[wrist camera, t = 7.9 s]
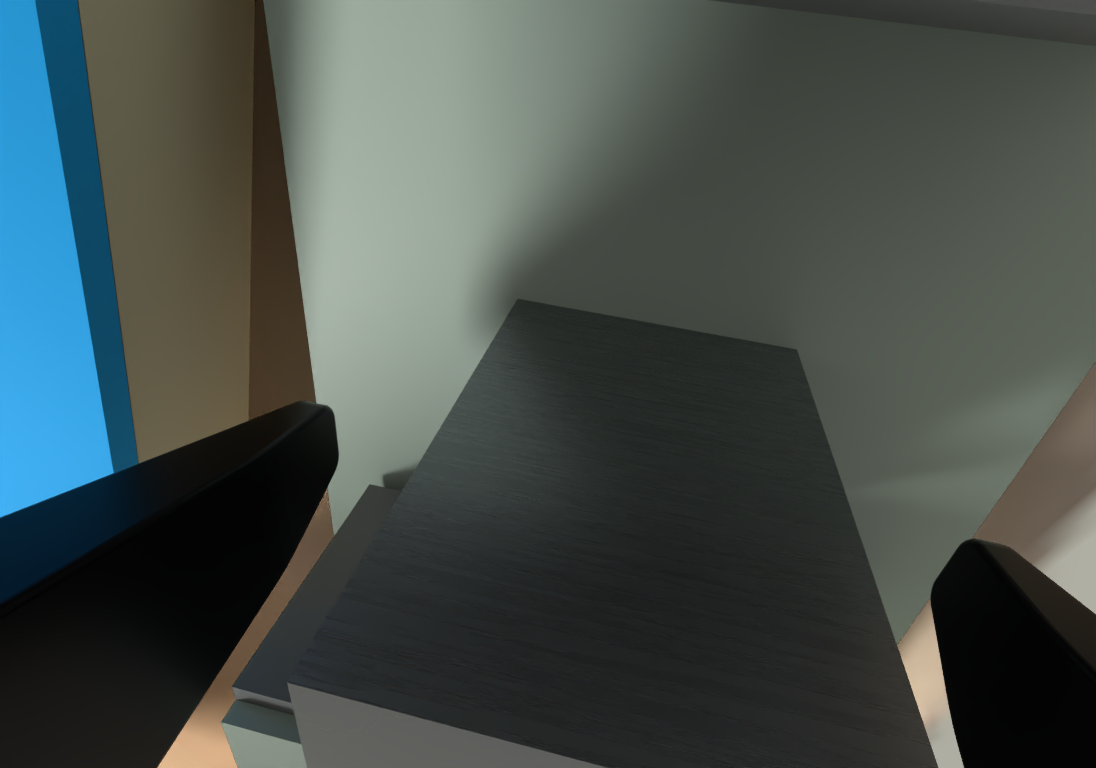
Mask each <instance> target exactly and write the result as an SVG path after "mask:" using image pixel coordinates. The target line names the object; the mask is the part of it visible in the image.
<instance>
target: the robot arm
mask: <svg viewBox="0 0 1096 768" xmlns="http://www.w3.org/2000/svg"><path fill="white" fill-rule="evenodd" d="M338 461H339V448H338V439H337V431H336V422H335V415H334V412H333V410H332V409H331V408H330V407H329V406H327V405H323V404H318V403H314V402H309V401H298V402H295V403H293V404H290V405H287V406H285V407H282V408H280V409H277V410H275V411H272V412H270V413H267V414H264V415H262V416H259V417H257V418H254V419H252V420H249V421H246V422H244V423H241V424H239V425H236V426H234V427H231V428H228V429H226V430H223V431H221V432H218V433H216V434H213V435H211V436H208V437H205V438H203V439H200V440H198V441H195V442H193V443H190V444H187V445H185V446H182V447H180V448H177V449H175V450H172V451H169V452H167V453H164V454H162V455H159V456H157V457H154V458H151V459H149V460H146V461H144V462H141V463H139V464H136V465H133V466H131V467H128V468H126V469H123V470H121V471H118V472H115V473H113V474H110V475H108V476H105V477H103V478H100V479H97V480H95V481H92V482H90V483H87V484H85V485H82V486H80V487H77V488H74V489H72V490H69V491H67V492H64V493H62V494H59V495H56V496H54V497H51V498H49V499H46V500H44V501H41V502H38V503H36V504H33V505H31V506H28V507H26V508H23V509H20V510H18V511H15V512H13V513H10V514H8V515H5V516H2V517H0V768H157V767H158V766H159V764H160V763H161V761H162V760H163V758H164V756H165V755H166V753H167V752H168V750H169V749H170V747H171V746H172V744H173V743H174V741H175V740H176V738H177V736H178V735H179V733H180V732H181V730H182V729H183V727H184V726H185V724H186V723H187V721H188V719H189V718H190V716H191V715H192V713H193V712H194V710H195V709H196V707H197V706H198V704H199V703H200V701H201V699H202V698H203V696H204V695H205V693H206V692H207V690H208V689H209V687H210V686H211V684H212V682H213V681H214V679H215V678H216V676H217V675H218V673H219V672H220V670H221V669H222V667H223V666H224V664H225V662H226V661H227V659H228V658H229V656H230V655H231V653H232V652H233V650H234V649H235V647H236V645H237V644H238V642H239V641H240V639H241V638H242V636H243V635H244V633H245V632H246V630H247V628H248V627H249V625H250V624H251V622H252V621H253V619H254V618H255V616H256V615H257V613H258V612H259V610H260V608H261V607H262V605H263V604H264V602H265V601H266V599H267V598H268V596H269V595H270V593H271V591H272V590H273V588H274V587H275V585H276V584H277V582H278V580H279V579H280V577H281V576H282V574H283V572H284V571H285V569H286V567H287V566H288V564H289V562H290V560H291V558H292V556H293V554H294V553H295V551H296V549H297V547H298V545H299V543H300V541H301V539H302V537H303V535H304V533H305V531H306V529H307V527H308V525H309V523H310V521H311V519H312V517H313V515H314V513H315V511H316V509H317V507H318V505H319V503H320V501H321V499H322V497H323V495H324V493H325V491H326V489H327V487H328V485H329V483H330V481H331V479H332V477H333V475H334V473H335V471H336V469H337V466H338ZM931 607H932V613H933V619H934V624H935V630H936V636H937V641H938V647H939V653H940V659H941V664H942V670H943V676H944V681H945V687H946V693H947V699H948V704H949V709H950V714H951V719H952V724H953V728H954V732H955V735H956V740H957V743H958V747H959V751H960V754H961V758H962V762H963V765H964V768H1096V614H1095V613H1093V612H1092V611H1091V610H1089V609H1088V608H1087V607H1085V606H1084V605H1083V604H1082V603H1081V602H1079V601H1078V600H1077V599H1075V598H1074V597H1073V596H1071V595H1070V594H1069V593H1068V592H1066V591H1065V590H1064V589H1063V588H1061V587H1060V586H1059V585H1057V584H1056V583H1055V582H1054V581H1052V580H1051V579H1050V578H1048V577H1047V576H1046V575H1045V574H1043V573H1042V572H1041V571H1040V570H1038V569H1037V568H1036V567H1035V566H1033V565H1032V564H1031V563H1029V562H1028V561H1027V560H1026V559H1024V558H1023V557H1022V556H1020V555H1019V554H1018V553H1017V552H1015V551H1014V550H1013V549H1011V548H1010V547H1007V546H1005V545H1002V544H998V543H993V542H988V541H983V540H978V539H968V540H965V541H964V542H962V543H961V544H960V545H959V546H958V548H957V549H956V551H955V552H954V553H953V555H952V556H951V558H950V559H949V561H948V562H947V564H946V565H945V567H944V568H943V569H942V571H941V572H940V574H939V575H938V577H937V578H936V580H935V581H934V583H933V586H932V589H931Z"/></svg>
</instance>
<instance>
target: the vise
mask: <svg viewBox="0 0 1096 768" xmlns="http://www.w3.org/2000/svg"><path fill="white" fill-rule="evenodd" d="M263 3H264V10H265V18H266V25H267V33H268V40H269V48H270V56H271V63H272V71H273V78H274V86H275V93H276V101H277V109H278V116H279V124H280V131H281V139H282V146H283V154H284V162H285V169H286V177H287V184H288V192H289V199H290V207H291V215H292V222H293V230H294V237H295V245H296V252H297V260H298V268H299V275H300V283H301V290H302V298H303V305H304V313H305V321H306V328H307V336H308V343H309V351H310V358H311V366H312V374H313V381H314V389H315V396H316V403H318V404H323V405H327V406H329V407H330V408H331V409H332V410H333V412H334V415H335V422H336V431H337V439H338V448H339V461H338V466H337V469H336V471H335V473H334V475H333V477H332V479H331V481H330V483H329V485H328V495H329V502H330V510H331V517H332V525H333V533H334V537H333V539H332V540H331V542H330V543H329V545H328V546H327V548H326V549H325V550H324V552H323V553H322V555H321V556H320V558H319V559H318V561H317V562H316V564H315V565H314V567H313V568H312V570H311V571H310V573H309V574H308V575H307V577H306V578H305V580H304V581H303V583H302V584H301V586H300V587H299V589H298V590H297V592H296V593H295V595H294V596H293V598H292V599H291V600H290V602H289V603H288V605H287V606H286V608H285V609H284V611H283V612H282V614H281V615H280V617H279V618H278V620H277V621H276V623H275V624H274V626H273V627H272V628H271V630H270V631H269V633H268V634H267V636H266V637H265V639H264V640H263V642H262V643H261V645H260V646H259V648H258V649H257V651H256V652H255V653H254V655H253V656H252V658H251V659H250V661H249V662H248V664H247V665H246V667H245V668H244V670H243V671H242V673H241V674H240V676H239V677H238V678H237V680H236V681H235V683H234V684H233V686H232V689H233V692H234V695H235V698H236V700H235V702H234V703H233V705H232V706H231V708H230V709H229V711H228V713H227V714H226V716H225V717H224V719H223V720H222V722H221V723H222V726H223V729H224V732H225V734H226V737H227V740H228V742H229V745H230V748H231V751H232V753H233V756H234V759H235V761H236V764H237V767H238V768H307V766H306V761H305V757H304V753H303V749H302V744H301V740H300V736H299V732H298V727H297V723H296V719H295V715H294V710H293V706H292V702H291V698H290V693H289V689H288V685H287V682H288V680H289V678H290V677H291V675H292V673H293V672H294V670H295V668H296V667H297V665H298V663H299V662H300V660H301V658H302V657H303V655H304V653H305V652H306V650H307V648H308V647H309V645H310V643H311V642H312V640H313V638H314V637H315V635H316V633H317V632H318V630H319V628H320V627H321V625H322V623H323V622H324V620H325V618H326V617H327V615H328V613H329V612H330V610H331V608H332V607H333V605H334V604H335V602H336V600H337V599H338V597H339V595H340V594H341V592H342V590H343V589H344V587H345V585H346V584H347V582H348V580H349V579H350V577H351V575H352V574H353V572H354V570H355V569H356V567H357V565H358V564H359V562H360V560H361V559H362V557H363V555H364V554H365V552H366V550H367V549H368V547H369V545H370V544H371V542H372V540H373V539H374V537H375V535H376V534H377V532H378V530H379V529H380V527H381V525H382V524H383V522H384V520H385V519H386V517H387V515H388V514H389V512H390V510H391V509H392V507H393V505H394V504H395V502H396V500H397V499H398V497H399V495H400V494H401V492H402V490H403V489H404V487H405V485H406V484H407V482H408V480H409V479H410V477H411V475H412V474H413V472H414V470H415V469H416V467H417V465H418V464H419V462H420V460H421V459H422V457H423V455H424V454H425V452H426V450H427V449H428V447H429V445H430V444H431V442H432V440H433V439H434V437H435V435H436V434H437V432H438V430H439V429H440V427H441V425H442V424H443V422H444V420H445V419H446V417H447V415H448V414H449V412H450V410H451V409H452V407H453V405H454V404H455V402H456V400H457V399H458V397H459V395H460V394H461V392H462V390H463V389H464V387H465V385H466V384H467V382H468V380H469V379H470V377H471V375H472V374H473V372H474V370H475V369H476V367H477V365H478V364H479V362H480V360H481V359H482V357H483V355H484V354H485V352H486V350H487V349H488V347H489V345H490V344H491V342H492V340H493V339H494V337H495V335H496V334H497V332H498V330H499V329H500V327H501V325H502V324H503V322H504V320H505V319H506V317H507V315H508V314H509V312H510V310H511V309H512V307H513V305H514V304H515V302H516V300H517V299H522V300H528V301H533V302H539V303H544V304H550V305H555V306H561V307H566V308H572V309H577V310H583V311H588V312H594V313H599V314H605V315H610V316H616V317H621V318H627V319H632V320H638V321H643V322H649V323H654V324H660V325H665V326H671V327H676V328H682V329H687V330H693V331H698V332H704V333H709V334H715V335H720V336H726V337H731V338H737V339H742V340H748V341H753V342H759V343H764V344H770V345H775V346H781V347H786V348H792V349H797V351H798V354H799V357H800V360H801V363H802V366H803V369H804V372H805V375H806V378H807V381H808V384H809V387H810V390H811V393H812V395H813V398H814V401H815V404H816V407H817V410H818V413H819V416H820V419H821V422H822V425H823V428H824V431H825V434H826V437H827V440H828V443H829V446H830V449H831V452H832V455H833V458H834V461H835V464H836V466H837V469H838V472H839V475H840V478H841V481H842V484H843V487H844V490H845V493H846V496H847V499H848V502H849V505H850V508H851V511H852V514H853V517H854V520H855V523H856V526H857V529H858V532H859V535H860V537H861V540H862V543H863V546H864V549H865V552H866V555H867V558H868V561H869V564H870V567H871V570H872V573H873V576H874V579H875V582H876V585H877V588H878V591H879V594H880V597H881V600H882V603H883V605H884V608H885V611H886V614H887V617H888V620H889V623H890V626H891V629H892V632H893V635H894V638H895V641H896V644H898V643H899V641H900V640H901V638H902V637H903V636H904V634H905V633H906V631H907V630H908V628H909V627H910V626H911V624H912V623H913V621H914V620H915V618H916V617H917V616H918V614H919V613H920V611H921V610H922V608H923V607H924V606H925V604H926V603H927V601H928V600H929V598H930V597H931V589H932V586H933V583H934V581H935V580H936V578H937V577H938V575H939V574H940V572H941V571H942V569H943V568H944V567H945V565H946V564H947V562H948V561H949V559H950V558H951V556H952V555H953V553H954V552H955V551H956V549H957V548H958V546H959V545H960V544H961V543H962V542H964V541H965V540H968V539H972V537H973V536H974V534H975V533H976V531H977V530H978V529H979V527H980V526H981V524H982V523H983V521H984V520H985V519H986V517H987V516H988V514H989V513H990V511H991V510H992V509H993V507H994V506H995V504H996V503H997V502H998V500H999V499H1000V497H1001V496H1002V494H1003V493H1004V492H1005V490H1006V489H1007V487H1008V486H1009V484H1010V483H1011V482H1012V480H1013V479H1014V477H1015V476H1016V474H1017V473H1018V472H1019V470H1020V469H1021V467H1022V466H1023V464H1024V463H1025V462H1026V460H1027V459H1028V457H1029V456H1030V454H1031V453H1032V452H1033V450H1034V449H1035V447H1036V446H1037V444H1038V443H1039V442H1040V440H1041V439H1042V437H1043V436H1044V435H1045V433H1046V432H1047V430H1048V429H1049V427H1050V426H1051V425H1052V423H1053V422H1054V420H1055V419H1056V417H1057V416H1058V415H1059V413H1060V412H1061V410H1062V409H1063V407H1064V406H1065V405H1066V403H1067V402H1068V400H1069V399H1070V397H1071V396H1072V395H1073V393H1074V392H1075V390H1076V389H1077V387H1078V386H1079V385H1080V383H1081V382H1082V380H1083V379H1084V377H1085V376H1086V375H1087V373H1088V372H1089V370H1090V369H1091V368H1092V366H1093V365H1094V363H1095V362H1096V46H1090V45H1081V44H1073V43H1065V42H1056V41H1048V40H1039V39H1031V38H1022V37H1014V36H1006V35H997V34H989V33H980V32H972V31H963V30H955V29H947V28H938V27H930V26H921V25H913V24H904V23H896V22H888V21H879V20H871V19H862V18H854V17H845V16H837V15H829V14H820V13H812V12H803V11H795V10H786V9H778V8H770V7H761V6H753V5H744V4H736V3H727V2H719V1H711V0H263Z"/></svg>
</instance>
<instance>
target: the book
mask: <svg viewBox="0 0 1096 768" xmlns="http://www.w3.org/2000/svg"><path fill="white" fill-rule="evenodd" d="M254 3H255V0H0V517H2V516H5V515H8V514H10V513H13V512H15V511H18V510H20V509H23V508H26V507H28V506H31V505H33V504H36V503H38V502H41V501H44V500H46V499H49V498H51V497H54V496H56V495H59V494H62V493H64V492H67V491H69V490H72V489H74V488H77V487H80V486H82V485H85V484H87V483H90V482H92V481H95V480H97V479H100V478H103V477H105V476H108V475H110V474H113V473H115V472H118V471H121V470H123V469H126V468H128V467H131V466H133V465H136V464H139V463H141V462H144V461H146V460H149V459H151V458H154V457H157V456H159V455H162V454H164V453H167V452H169V451H172V450H175V449H177V448H180V447H182V446H185V445H187V444H190V443H193V442H195V441H198V440H200V439H203V438H205V437H208V436H211V435H213V434H216V433H218V432H221V431H223V430H226V429H228V428H231V427H234V426H236V425H239V424H241V423H244V422H246V421H249V354H250V284H251V213H252V143H253V73H254Z"/></svg>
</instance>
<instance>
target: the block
mask: <svg viewBox="0 0 1096 768" xmlns="http://www.w3.org/2000/svg"><path fill="white" fill-rule="evenodd" d="M287 685H288V689H289V693H290V698H291V702H292V706H293V710H294V715H295V719H296V723H297V727H298V732H299V736H300V740H301V744H302V749H303V753H304V757H305V761H306V766H307V768H938V765H937V763H936V759H935V756H934V754H933V750H932V747H931V745H930V742H929V739H928V736H927V733H926V730H925V727H924V724H923V721H922V718H921V715H920V712H919V709H918V706H917V703H916V700H915V697H914V694H913V691H912V688H911V685H910V682H909V679H908V676H907V674H906V671H905V668H904V665H903V662H902V659H901V656H900V653H899V650H898V647H897V644H896V641H895V638H894V635H893V632H892V629H891V626H890V623H889V620H888V617H887V614H886V611H885V608H884V605H883V603H882V600H881V597H880V594H879V591H878V588H877V585H876V582H875V579H874V576H873V573H872V570H871V567H870V564H869V561H868V558H867V555H866V552H865V549H864V546H863V543H862V540H861V537H860V535H859V532H858V529H857V526H856V523H855V520H854V517H853V514H852V511H851V508H850V505H849V502H848V499H847V496H846V493H845V490H844V487H843V484H842V481H841V478H840V475H839V472H838V469H837V466H836V464H835V461H834V458H833V455H832V452H831V449H830V446H829V443H828V440H827V437H826V434H825V431H824V428H823V425H822V422H821V419H820V416H819V413H818V410H817V407H816V404H815V401H814V398H813V395H812V393H811V390H810V387H809V384H808V381H807V378H806V375H805V372H804V369H803V366H802V363H801V360H800V357H799V354H798V351H797V349H792V348H786V347H781V346H775V345H770V344H764V343H759V342H753V341H748V340H742V339H737V338H731V337H726V336H720V335H715V334H709V333H704V332H698V331H693V330H687V329H682V328H676V327H671V326H665V325H660V324H654V323H649V322H643V321H638V320H632V319H627V318H621V317H616V316H610V315H605V314H599V313H594V312H588V311H583V310H577V309H572V308H566V307H561V306H555V305H550V304H544V303H539V302H533V301H528V300H522V299H517V300H516V302H515V304H514V305H513V307H512V309H511V310H510V312H509V314H508V315H507V317H506V319H505V320H504V322H503V324H502V325H501V327H500V329H499V330H498V332H497V334H496V335H495V337H494V339H493V340H492V342H491V344H490V345H489V347H488V349H487V350H486V352H485V354H484V355H483V357H482V359H481V360H480V362H479V364H478V365H477V367H476V369H475V370H474V372H473V374H472V375H471V377H470V379H469V380H468V382H467V384H466V385H465V387H464V389H463V390H462V392H461V394H460V395H459V397H458V399H457V400H456V402H455V404H454V405H453V407H452V409H451V410H450V412H449V414H448V415H447V417H446V419H445V420H444V422H443V424H442V425H441V427H440V429H439V430H438V432H437V434H436V435H435V437H434V439H433V440H432V442H431V444H430V445H429V447H428V449H427V450H426V452H425V454H424V455H423V457H422V459H421V460H420V462H419V464H418V465H417V467H416V469H415V470H414V472H413V474H412V475H411V477H410V479H409V480H408V482H407V484H406V485H405V487H404V489H403V490H402V492H401V494H400V495H399V497H398V499H397V500H396V502H395V504H394V505H393V507H392V509H391V510H390V512H389V514H388V515H387V517H386V519H385V520H384V522H383V524H382V525H381V527H380V529H379V530H378V532H377V534H376V535H375V537H374V539H373V540H372V542H371V544H370V545H369V547H368V549H367V550H366V552H365V554H364V555H363V557H362V559H361V560H360V562H359V564H358V565H357V567H356V569H355V570H354V572H353V574H352V575H351V577H350V579H349V580H348V582H347V584H346V585H345V587H344V589H343V590H342V592H341V594H340V595H339V597H338V599H337V600H336V602H335V604H334V605H333V607H332V608H331V610H330V612H329V613H328V615H327V617H326V618H325V620H324V622H323V623H322V625H321V627H320V628H319V630H318V632H317V633H316V635H315V637H314V638H313V640H312V642H311V643H310V645H309V647H308V648H307V650H306V652H305V653H304V655H303V657H302V658H301V660H300V662H299V663H298V665H297V667H296V668H295V670H294V672H293V673H292V675H291V677H290V678H289V680H288V682H287Z"/></svg>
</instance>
